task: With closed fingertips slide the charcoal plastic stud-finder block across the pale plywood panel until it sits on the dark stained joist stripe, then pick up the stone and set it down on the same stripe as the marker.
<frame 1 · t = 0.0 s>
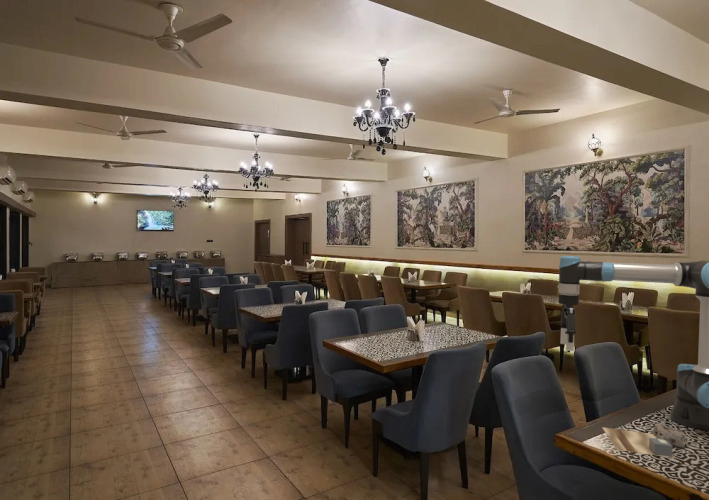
hand: (566, 347, 179), 28 cm above the table, fingers open, 13 cm apart
stone: (667, 442, 157), on the table, touching subfloor panel
finder: (660, 452, 147), point 1 cm above the table, touching subfloor panel
subfloor panel: (636, 443, 155), on the table
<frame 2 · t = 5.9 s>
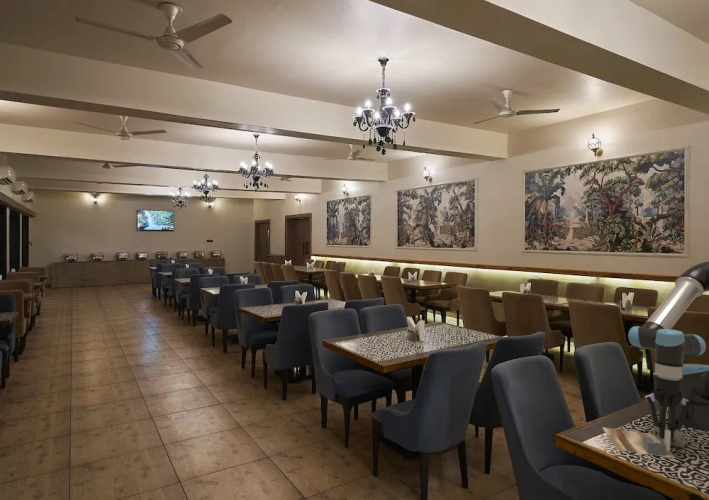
hand: (665, 448, 146), 2 cm above the table, fingers closed
finder: (654, 451, 147), point 1 cm above the table, touching gripper, subfloor panel
everything else where it was.
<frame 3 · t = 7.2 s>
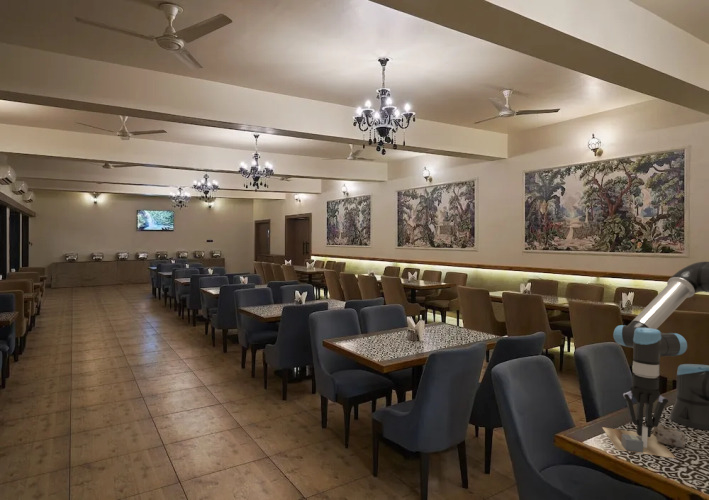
hand: (643, 445, 148), 2 cm above the table, fingers closed
finder: (631, 448, 149), point 1 cm above the table, touching gripper
everything else where it was.
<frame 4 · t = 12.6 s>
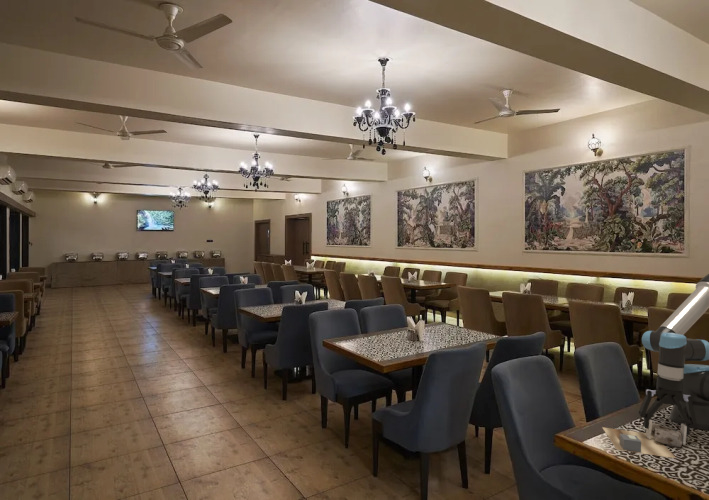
hand: (665, 440, 157), 1 cm above the table, fingers open, 10 cm apart
stone: (664, 441, 157), on the table
finder: (629, 448, 149), point 1 cm above the table, touching subfloor panel
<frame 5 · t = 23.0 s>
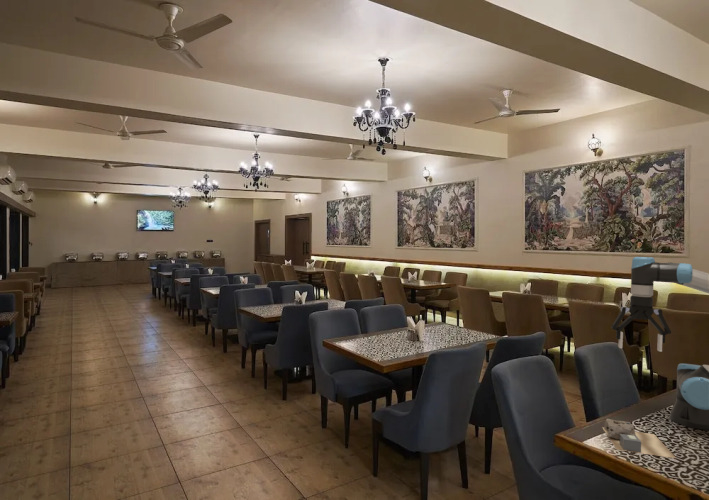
hand: (639, 349, 176), 29 cm above the table, fingers open, 13 cm apart
stone: (619, 436, 160), point 1 cm above the table, touching subfloor panel
everything else where it was.
at the end: finder 0.3 cm from the target spot on the subfloor panel, point 0.8 cm above the subfloor panel's base; stone inside the target area (0.4 cm from its centre), point 0.6 cm above the table; stone touching subfloor panel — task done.
